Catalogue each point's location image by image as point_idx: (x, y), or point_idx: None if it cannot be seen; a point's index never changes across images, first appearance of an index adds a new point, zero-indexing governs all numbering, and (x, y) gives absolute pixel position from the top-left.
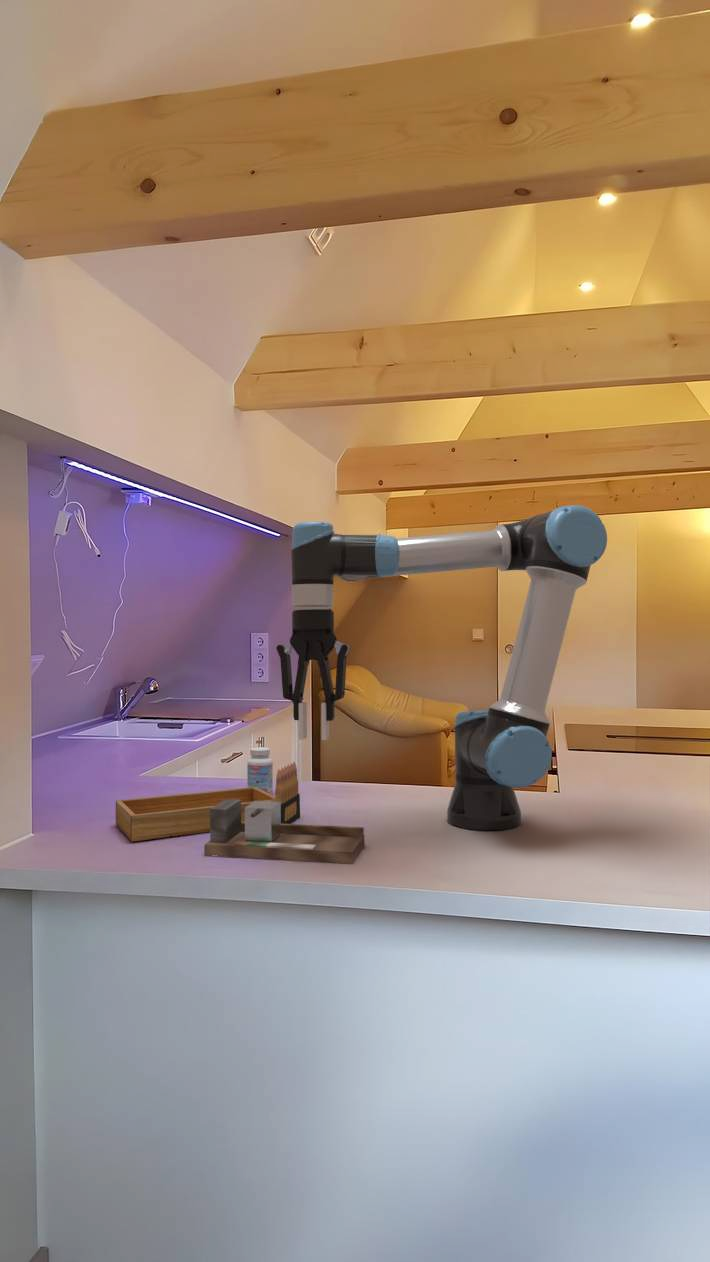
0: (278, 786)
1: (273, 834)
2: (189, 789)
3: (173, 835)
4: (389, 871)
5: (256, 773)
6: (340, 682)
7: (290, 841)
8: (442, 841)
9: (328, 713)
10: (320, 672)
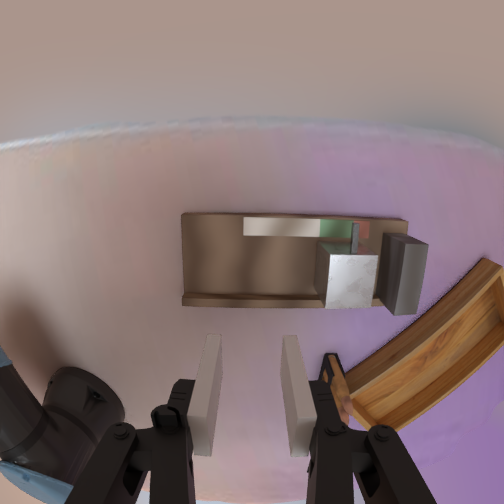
0: (345, 393)
1: (318, 253)
2: (439, 449)
3: (451, 290)
4: (131, 191)
5: None
6: (88, 477)
7: (290, 255)
8: (100, 327)
9: (187, 397)
10: None
